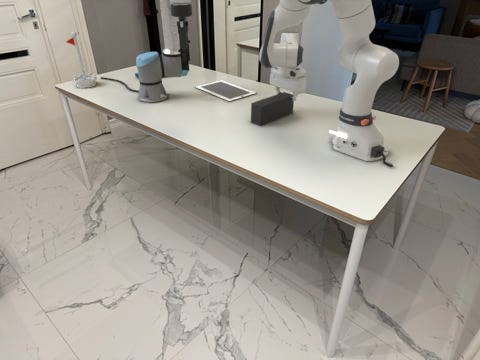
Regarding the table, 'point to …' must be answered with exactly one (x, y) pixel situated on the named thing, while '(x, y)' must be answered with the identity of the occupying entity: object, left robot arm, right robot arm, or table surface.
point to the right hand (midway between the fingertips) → (286, 98)
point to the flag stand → (82, 68)
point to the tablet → (225, 90)
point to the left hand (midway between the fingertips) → (186, 65)
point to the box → (271, 108)
